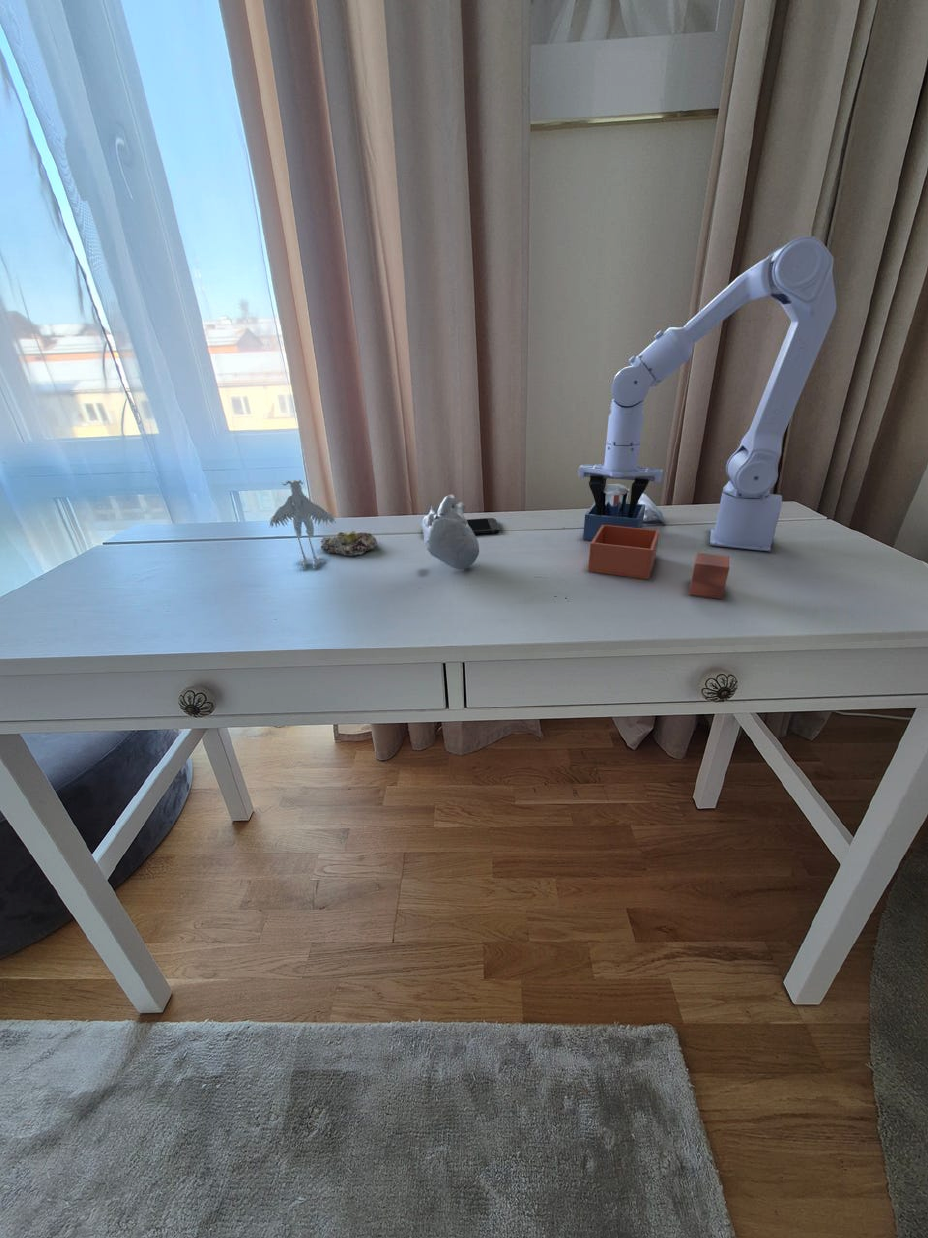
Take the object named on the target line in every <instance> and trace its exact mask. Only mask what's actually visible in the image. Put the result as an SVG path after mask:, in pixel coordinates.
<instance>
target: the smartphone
mask: <svg viewBox="0 0 928 1238" xmlns="http://www.w3.org/2000/svg"><path fill="white" fill-rule="evenodd" d="M466 519H467V518H466ZM467 522H468V525H469V526H470V528H471V529H472V531H473V533H474V534H475V535H482V534H495V533H498V532H500V531H501V528H500V525H499V522H498V521H497V519H496V518H493V517H484V518H468V519H467Z"/></svg>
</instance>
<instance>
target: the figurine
mask: <svg viewBox="0 0 928 1238" xmlns="http://www.w3.org/2000/svg"><path fill="white" fill-rule="evenodd" d="M288 484H289V488H290V493H291V495H289V496H288V497H287V498H286V500H285V502H284V503H283V504H282V505H281V506H279V507H278V508H277V509H276V511H275V513H274V514H273V515H272V516H271V517H270V520H269V527H270V528H271V529H272V528H273V527H274V525H275V528H276V529H277V528H278V526H279V527H280V526H281V525H282V526H283V527H286V526H288V523H289V522H290V521H292V525H293V529H294V532H295V535H296V537H297V541H298V543H299V547H300V551H301V555H302V558H301V559H300V560H299V562H300V563H302V570H303V571H304V570H305V567H306V566H307V564H308V563H309V558H307V557H306V555H305V552H304V549H303V546H302V541H301V538H302V533H303V532H302V526H303V524H304V526H305V528H306V529H305V532H306V534H307V537H308V541H309V546H310V549H311V553H312V559H313V560H312V563H313V564H312V566H313V569H314V570H315V569H316V565H317V563H319V562H322V561H325V558H323V557H317V556H316V553H315V550H314V547H313V544H312V540H311V538H313V537H314V535H315V524H316V523H317V524H318V525H319V526H320V524H321V521H322V524H324V523H326V525H328V522H329V523H331V524H334V523H335V524H337V522H336V521H335V520H336V519H335V517H334V515H333V514H332V513H331V512H329V511H327V510H325V509H324V508H323V507H322V506H320V505H319V504H316V503H314V502H313V501H312V500H311V499H310V498H309V497H308V496H306V495H305V494H304V492H303V489H302V485H304V482H303V481H302V480H301V479H298V480H297V479H294V480H286V481H285V483H283V482H281V485H283V486H287V485H288ZM289 520H290V521H289ZM287 522H288V523H287ZM285 525H286V526H285Z"/></svg>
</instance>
